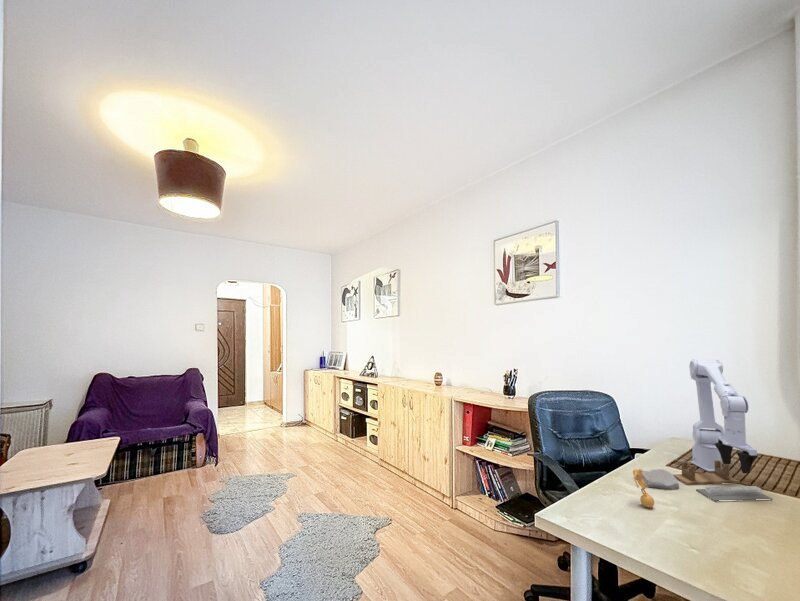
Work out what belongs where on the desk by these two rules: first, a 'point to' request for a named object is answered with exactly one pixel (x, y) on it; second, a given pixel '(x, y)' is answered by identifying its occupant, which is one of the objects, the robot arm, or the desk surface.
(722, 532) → the desk surface
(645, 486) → the figurine
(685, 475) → the wooden two-post cradle
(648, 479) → the stone block
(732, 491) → the rail
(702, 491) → the mat
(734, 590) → the desk surface
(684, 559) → the desk surface
